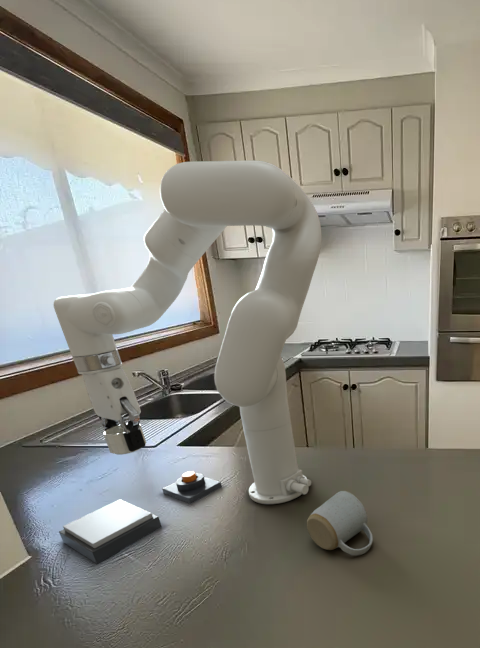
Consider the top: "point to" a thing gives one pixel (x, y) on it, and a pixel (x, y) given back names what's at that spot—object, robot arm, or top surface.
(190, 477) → the button
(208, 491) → the pad
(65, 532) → the scale
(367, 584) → the top surface
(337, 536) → the ceramic mug
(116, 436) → the white cup
